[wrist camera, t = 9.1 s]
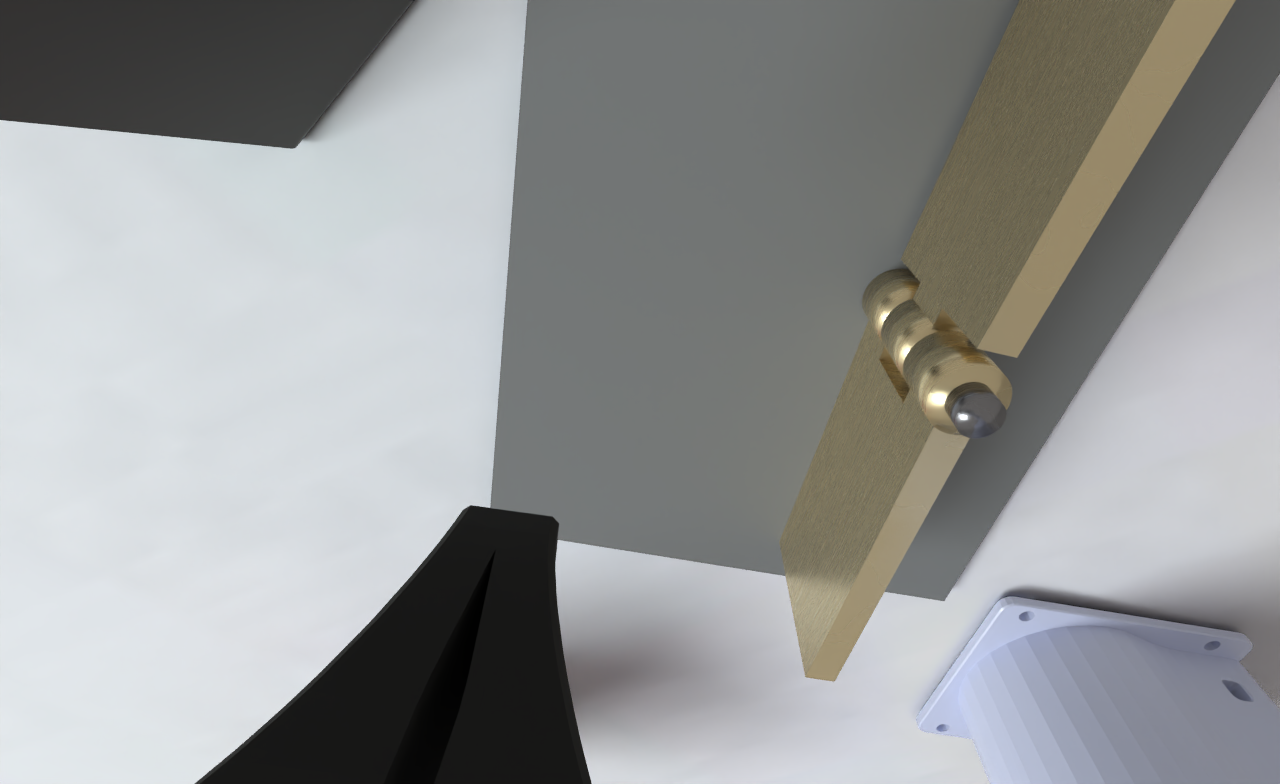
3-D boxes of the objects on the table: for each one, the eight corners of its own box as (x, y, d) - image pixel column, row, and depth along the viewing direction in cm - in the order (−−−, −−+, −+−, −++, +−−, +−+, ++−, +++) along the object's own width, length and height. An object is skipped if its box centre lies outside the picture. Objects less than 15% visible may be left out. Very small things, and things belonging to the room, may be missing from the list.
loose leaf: (912, 336, 17) (986, 442, 13) (855, 323, 17) (911, 426, 13) (1145, -125, 12) (1382, -183, 8) (1064, -149, 12) (1264, -219, 8)
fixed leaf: (875, 263, 16) (958, 375, 12) (936, 275, 16) (1042, 390, 12) (767, 540, 22) (794, 695, 17) (814, 547, 22) (854, 704, 17)
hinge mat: (1408, -166, 12) (1434, -172, 12) (939, 590, 23) (944, 601, 23) (560, -370, 11) (555, -385, 11) (492, 518, 22) (488, 528, 22)
